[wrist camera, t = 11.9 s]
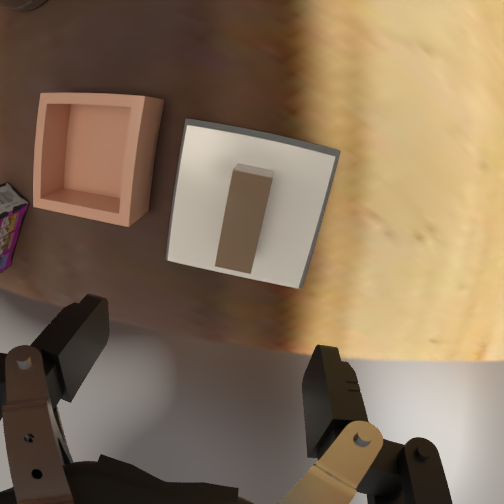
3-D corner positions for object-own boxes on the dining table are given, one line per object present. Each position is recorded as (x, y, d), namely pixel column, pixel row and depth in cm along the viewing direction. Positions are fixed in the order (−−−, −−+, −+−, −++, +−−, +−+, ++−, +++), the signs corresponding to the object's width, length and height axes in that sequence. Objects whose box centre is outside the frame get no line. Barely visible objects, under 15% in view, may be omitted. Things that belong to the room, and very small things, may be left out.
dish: (69, 94, 26) (40, 93, 22) (164, 99, 26) (145, 96, 22) (60, 194, 30) (33, 206, 26) (148, 211, 31) (128, 227, 26)
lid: (189, 124, 27) (173, 125, 22) (333, 155, 27) (346, 162, 23) (170, 256, 32) (154, 279, 27) (297, 283, 32) (301, 310, 28)
